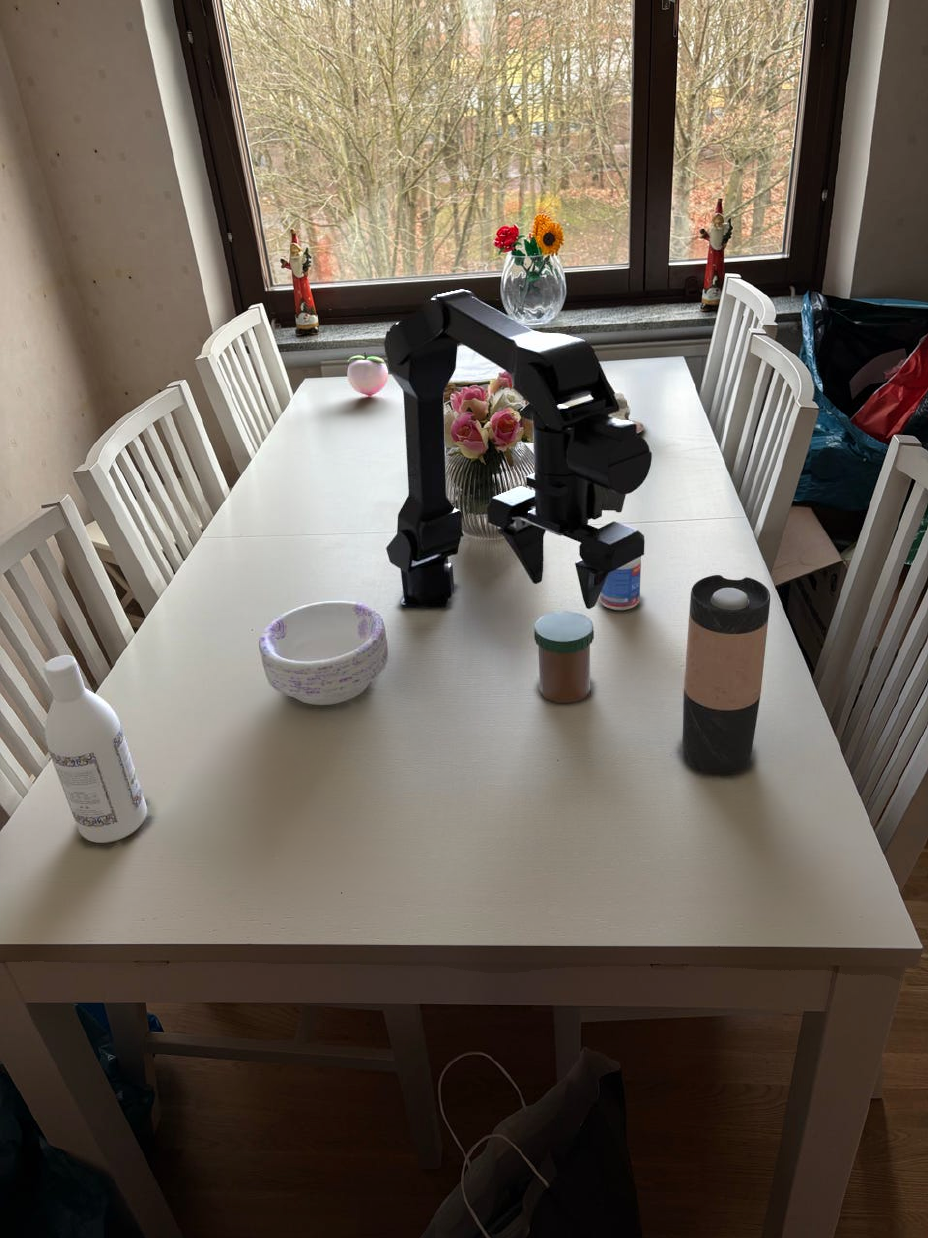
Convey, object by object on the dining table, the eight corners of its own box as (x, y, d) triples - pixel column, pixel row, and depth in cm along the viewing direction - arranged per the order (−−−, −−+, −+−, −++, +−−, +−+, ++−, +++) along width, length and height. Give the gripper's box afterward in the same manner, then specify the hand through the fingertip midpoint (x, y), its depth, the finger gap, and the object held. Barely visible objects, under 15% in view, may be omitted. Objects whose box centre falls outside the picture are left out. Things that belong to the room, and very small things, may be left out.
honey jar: (547, 707, 112) (545, 646, 107) (534, 678, 117) (532, 620, 112) (596, 698, 112) (596, 638, 108) (581, 670, 118) (581, 612, 113)
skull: (654, 433, 181) (619, 397, 177) (613, 470, 185) (578, 435, 181) (643, 410, 191) (609, 376, 187) (605, 445, 195) (570, 412, 191)
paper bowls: (257, 670, 123) (245, 617, 118) (369, 639, 127) (362, 587, 123) (286, 735, 110) (274, 679, 106) (409, 698, 115) (402, 643, 111)
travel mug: (711, 787, 98) (726, 620, 88) (665, 747, 104) (673, 587, 94) (768, 761, 101) (789, 597, 91) (720, 724, 107) (734, 566, 96)
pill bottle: (638, 612, 128) (640, 547, 123) (598, 610, 129) (598, 546, 124) (640, 592, 133) (642, 528, 128) (601, 590, 134) (602, 527, 129)
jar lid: (543, 658, 108) (542, 645, 107) (528, 627, 113) (527, 615, 112) (601, 648, 108) (601, 636, 108) (583, 618, 114) (583, 607, 113)
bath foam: (124, 790, 104) (73, 635, 94) (161, 816, 100) (112, 657, 90) (67, 826, 100) (6, 668, 89) (103, 855, 96) (43, 693, 85)
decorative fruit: (345, 402, 213) (338, 358, 208) (354, 391, 220) (349, 347, 215) (385, 402, 212) (380, 357, 206) (394, 390, 218) (389, 347, 213)
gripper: (681, 464, 98) (674, 596, 106) (552, 424, 110) (554, 545, 118) (608, 498, 92) (606, 635, 100) (480, 452, 104) (488, 577, 113)
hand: (563, 594), depth 108 cm, fingers open, 8 cm apart
